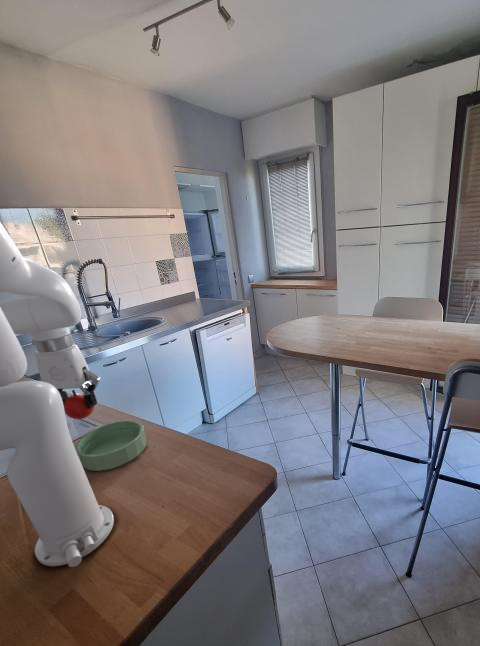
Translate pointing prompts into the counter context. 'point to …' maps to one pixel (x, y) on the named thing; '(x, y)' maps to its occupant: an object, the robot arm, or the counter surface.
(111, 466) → the bowl
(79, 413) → the apple
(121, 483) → the counter surface
